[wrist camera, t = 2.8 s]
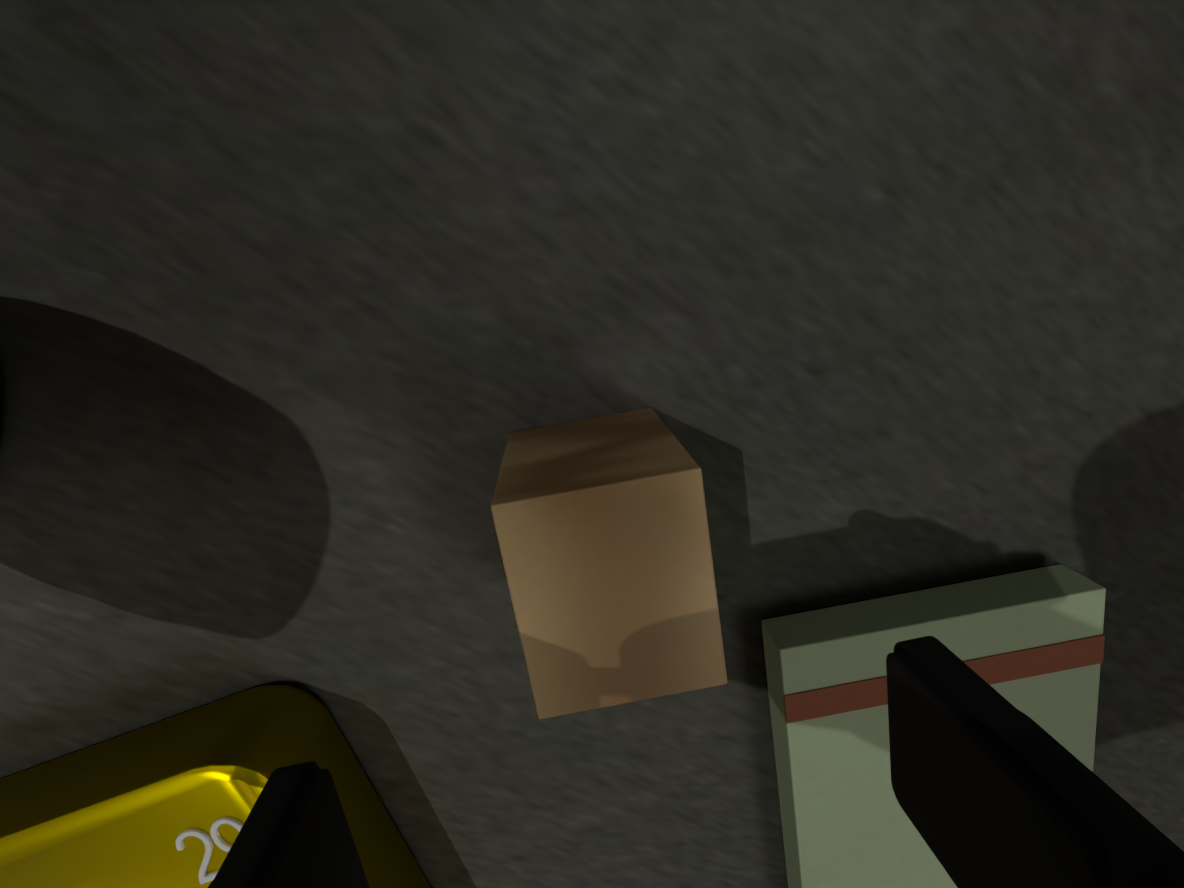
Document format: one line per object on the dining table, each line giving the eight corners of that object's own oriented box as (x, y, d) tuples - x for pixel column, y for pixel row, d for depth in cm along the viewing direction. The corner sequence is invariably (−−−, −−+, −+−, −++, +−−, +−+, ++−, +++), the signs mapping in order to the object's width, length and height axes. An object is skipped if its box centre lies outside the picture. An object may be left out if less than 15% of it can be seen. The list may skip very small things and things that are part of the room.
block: (651, 407, 21) (701, 467, 14) (673, 563, 23) (728, 684, 16) (508, 432, 21) (489, 505, 14) (540, 588, 22) (538, 721, 16)
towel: (1061, 563, 24) (1108, 588, 22) (1046, 875, 28) (1084, 920, 26) (760, 619, 23) (780, 650, 21) (791, 926, 28) (810, 975, 26)
